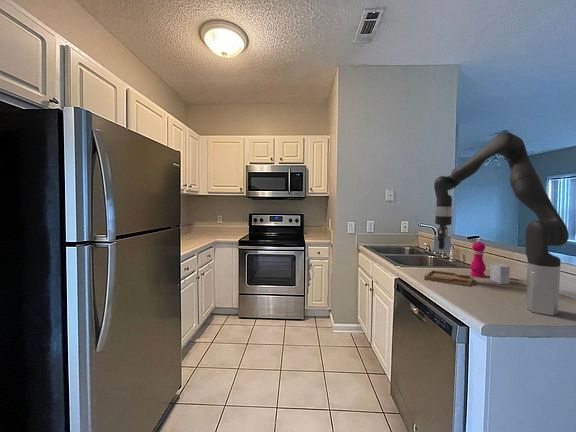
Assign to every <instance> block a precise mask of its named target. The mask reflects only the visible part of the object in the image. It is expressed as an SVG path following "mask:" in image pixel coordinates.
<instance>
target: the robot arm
mask: <svg viewBox="0 0 576 432" xmlns="http://www.w3.org/2000/svg"><path fill="white" fill-rule="evenodd" d="M496 155H500V156H502V157H503V158H504V159H505V160H506V162H507V164H508V166H509V168H510V176H509V182H510V187H511V188H512V189H511V190H512V191H513V193H514V195H515V198H516V199H518V200H519V201H520V203H522V204H523V205H524V206H526V207H527V208H528V209H530V211H532V212H533V213H534V215H536V217H537V219H538V220H533V221H530V222H529V223H528V224H527V225H526V228H525V237H524V238H525V256H526V258H527V268H526V290H525V291H526V292H525V309H527V310H528V311H530V312H532V313H535V314H540V315H541V314H542V315H546V316H547V315H548V316H553V317H554V316H556V315H558V314H559V306H560V305H559V303H560V302H559V301H560V284H561V283H560V279H561V277H560V276H561V264H562V263H561V258H560V257H559V256H555V255H553V254H551V253H550V252H549V247H560V246H564V245H565V244H566V243H568V240H569V237H570V235H569V229H568V227H567V225H566V224H565V222H564V221H563V218H562V217H561V215H560V214H559V213H558V211H557V210H556V208H555V206H554V205H553V202H552V201H551V199H550V197H549V196H548V194H547V192H546V189H545V187H544V185H543V183H542V181H541V179H540V177H539V174H538V173H537V171H536V170H535V167H534V165H533V164H532V162H531V160H530V158H529V155H528V152H527V148H526V145H525V142H524V140H523V139H522V138H521V137H519V136H517V135H516V134H514V133H511V132H509V131H503V132H500V133H499V134H497V135H495V136H494V137H492V139H490V140H489V141H488V142H487V143H486V144H485V145H484V146H483V147H481V148H480V149H479V150H478V151H477V152H476V153H475V154H473V155H472V156H471V157H470V158H468V159H467V160H465V161H464V162H462V163H461V164H459V165H458V166H456V167H455V168H454V169H452V171H451V174H450V175H448V176H444V175H443V176H442V175H440V176H438V177H436V179H435V180H434V184H433V188H434V193H435V196H436V205H435V218H434V223H435V225H439V227H438V228H437V235H438V241H439V249H444V241H445V240H444V238H445V237H446V236H448V234H449V233H448V232H449V227H448V226H451V225H452V222H453V221H452V220H453V218H452V217H453V204H452V203H453V197H452V196H451V195H450V194H449V191H450V190H453V189H455V188H456V187H458V185H460V184H461V183H462V182H463V181H464V180H467V178H470V177H471V176H473V175H474V174H476V172H478V171H479V169H480V168H481V167H482V165H483V164H484V163H485V162H486V161H487V160H488V159H489V158H491V157H493V156H496ZM440 237H442V238H440Z"/></svg>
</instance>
